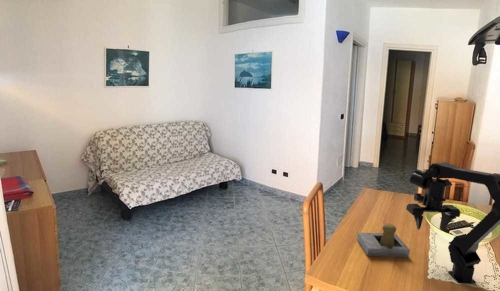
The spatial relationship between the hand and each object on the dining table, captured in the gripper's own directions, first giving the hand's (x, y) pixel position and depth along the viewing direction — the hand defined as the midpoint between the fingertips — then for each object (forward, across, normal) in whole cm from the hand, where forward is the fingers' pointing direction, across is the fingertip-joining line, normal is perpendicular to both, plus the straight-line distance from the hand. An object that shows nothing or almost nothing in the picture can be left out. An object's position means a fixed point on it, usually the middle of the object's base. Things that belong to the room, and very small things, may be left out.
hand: (429, 229), depth 127 cm
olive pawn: (+12, +14, -5) cm, 19 cm away
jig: (+12, +16, -5) cm, 21 cm away
